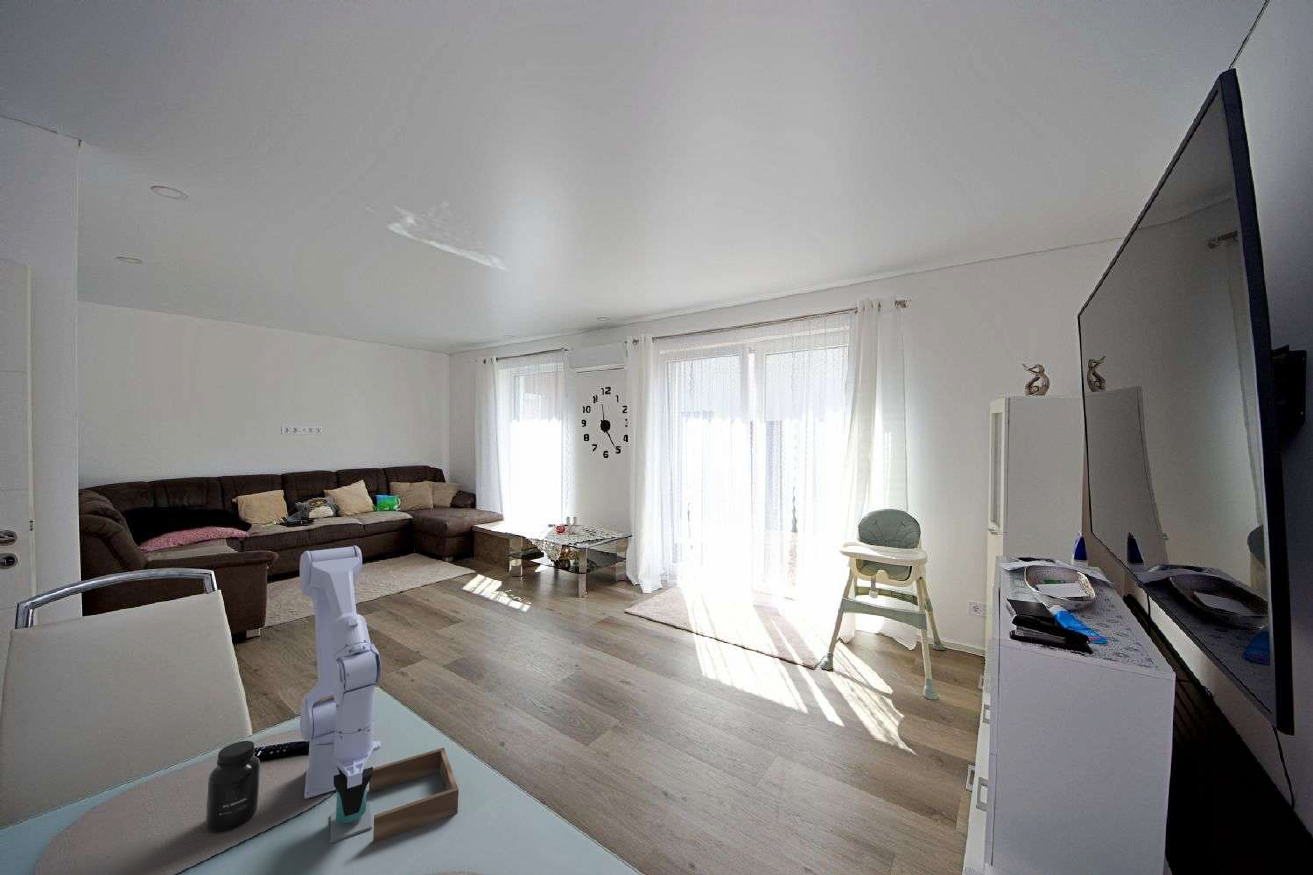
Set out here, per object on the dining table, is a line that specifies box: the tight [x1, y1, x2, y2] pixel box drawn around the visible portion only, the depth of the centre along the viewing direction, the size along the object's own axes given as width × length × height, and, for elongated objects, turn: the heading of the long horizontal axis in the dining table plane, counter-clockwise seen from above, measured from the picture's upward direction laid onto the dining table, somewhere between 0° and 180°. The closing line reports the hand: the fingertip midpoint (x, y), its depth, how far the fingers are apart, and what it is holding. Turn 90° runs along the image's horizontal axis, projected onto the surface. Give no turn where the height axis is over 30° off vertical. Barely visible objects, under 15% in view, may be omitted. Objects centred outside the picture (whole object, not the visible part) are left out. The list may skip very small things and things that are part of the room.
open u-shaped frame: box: [368, 747, 459, 844], centre depth 89 cm, size 14×13×4 cm
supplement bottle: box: [205, 740, 261, 834], centre depth 84 cm, size 7×7×12 cm
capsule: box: [335, 767, 368, 823], centre depth 84 cm, size 4×4×6 cm
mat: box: [329, 800, 373, 844], centre depth 84 cm, size 7×6×1 cm
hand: (351, 803), depth 84 cm, fingers closed on capsule, 4 cm apart
